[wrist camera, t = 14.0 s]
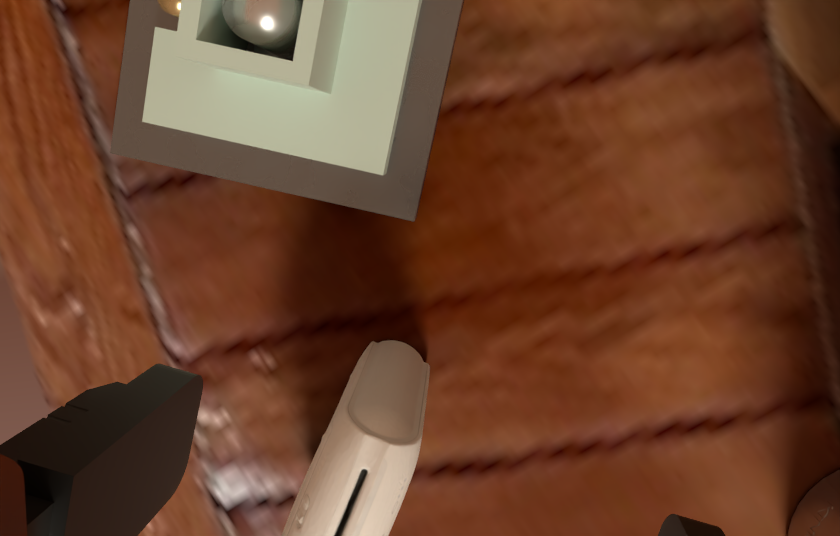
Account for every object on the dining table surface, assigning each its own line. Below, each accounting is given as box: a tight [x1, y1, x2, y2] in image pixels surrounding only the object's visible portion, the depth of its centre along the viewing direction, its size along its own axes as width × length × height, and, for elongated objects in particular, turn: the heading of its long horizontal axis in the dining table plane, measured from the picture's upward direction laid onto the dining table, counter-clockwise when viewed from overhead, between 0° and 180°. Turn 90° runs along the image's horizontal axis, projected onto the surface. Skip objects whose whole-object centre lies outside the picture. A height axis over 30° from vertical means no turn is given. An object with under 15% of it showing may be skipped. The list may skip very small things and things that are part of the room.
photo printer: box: [282, 340, 430, 536], centre depth 33 cm, size 10×4×12 cm, turn 158°
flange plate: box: [142, 0, 422, 175], centre depth 30 cm, size 12×12×6 cm
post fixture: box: [110, 0, 464, 221], centre depth 32 cm, size 16×16×8 cm
